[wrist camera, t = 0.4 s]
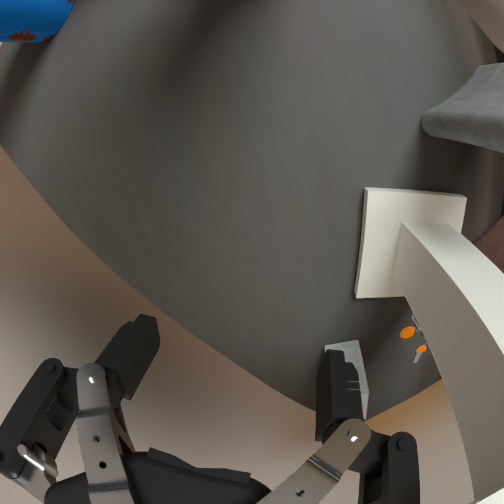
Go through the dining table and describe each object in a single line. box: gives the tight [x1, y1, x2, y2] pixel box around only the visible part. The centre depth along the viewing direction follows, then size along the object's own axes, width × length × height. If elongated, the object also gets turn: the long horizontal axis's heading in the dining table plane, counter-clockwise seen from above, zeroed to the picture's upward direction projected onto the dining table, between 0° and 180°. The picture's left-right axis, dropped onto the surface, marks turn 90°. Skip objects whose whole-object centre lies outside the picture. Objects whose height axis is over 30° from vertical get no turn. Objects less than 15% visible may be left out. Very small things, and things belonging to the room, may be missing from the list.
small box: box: [325, 340, 369, 419], centre depth 36 cm, size 8×6×10 cm
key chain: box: [400, 314, 427, 363], centre depth 37 cm, size 13×7×1 cm, turn 38°
